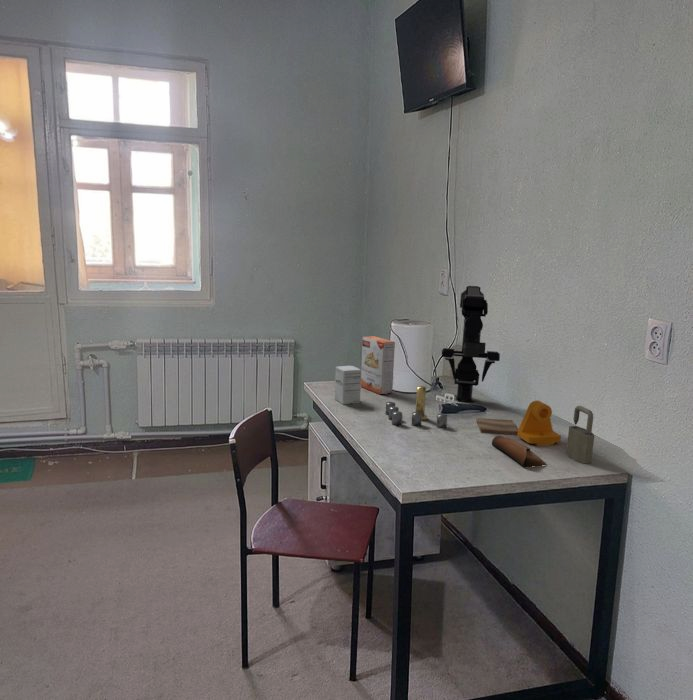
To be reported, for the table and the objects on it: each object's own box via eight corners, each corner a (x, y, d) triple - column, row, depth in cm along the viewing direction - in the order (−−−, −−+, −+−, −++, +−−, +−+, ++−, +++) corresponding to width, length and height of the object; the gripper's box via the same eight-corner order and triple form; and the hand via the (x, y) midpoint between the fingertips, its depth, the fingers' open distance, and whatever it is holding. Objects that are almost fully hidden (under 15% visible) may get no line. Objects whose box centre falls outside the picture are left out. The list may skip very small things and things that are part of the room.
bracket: (529, 446, 177) (533, 407, 175) (517, 438, 184) (520, 400, 181) (561, 444, 179) (565, 406, 177) (548, 436, 186) (552, 400, 184)
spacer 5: (436, 425, 193) (437, 413, 192) (446, 425, 193) (446, 414, 192) (436, 428, 190) (437, 416, 189) (446, 429, 190) (447, 417, 189)
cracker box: (359, 387, 238) (361, 336, 234) (371, 385, 242) (374, 335, 238) (380, 395, 227) (383, 342, 223) (392, 393, 230) (395, 341, 226)
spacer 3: (391, 422, 194) (392, 410, 193) (401, 423, 194) (402, 411, 193) (391, 425, 191) (392, 413, 190) (401, 426, 191) (402, 414, 190)
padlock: (575, 452, 172) (581, 403, 170) (593, 463, 165) (599, 411, 162) (563, 453, 171) (569, 403, 169) (581, 464, 164) (587, 412, 161)
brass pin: (412, 415, 202) (414, 384, 200) (426, 416, 202) (428, 385, 200) (412, 420, 198) (414, 388, 196) (427, 421, 197) (429, 389, 195)
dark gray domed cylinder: (411, 423, 194) (412, 411, 194) (421, 423, 194) (421, 412, 193) (411, 426, 191) (412, 414, 190) (421, 426, 191) (422, 415, 190)
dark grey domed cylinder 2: (388, 417, 200) (389, 406, 199) (398, 418, 199) (398, 406, 199) (388, 420, 197) (389, 408, 196) (397, 420, 196) (398, 409, 196)
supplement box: (333, 399, 219) (335, 366, 217) (351, 397, 222) (353, 365, 220) (342, 404, 213) (343, 370, 210) (360, 403, 216) (362, 369, 213)
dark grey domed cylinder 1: (385, 412, 205) (386, 401, 204) (394, 413, 205) (395, 402, 204) (385, 415, 202) (386, 404, 201) (394, 415, 202) (395, 404, 201)
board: (475, 420, 199) (476, 418, 199) (512, 423, 198) (512, 420, 198) (480, 432, 188) (481, 429, 187) (519, 434, 187) (519, 431, 186)
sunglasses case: (551, 466, 161) (542, 446, 159) (530, 480, 160) (521, 460, 158) (516, 443, 178) (507, 426, 176) (497, 456, 177) (488, 438, 175)
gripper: (443, 332, 189) (439, 380, 190) (502, 336, 186) (499, 385, 187) (443, 331, 200) (440, 377, 201) (499, 335, 197) (496, 381, 198)
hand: (468, 380), depth 197 cm, fingers open, 9 cm apart
